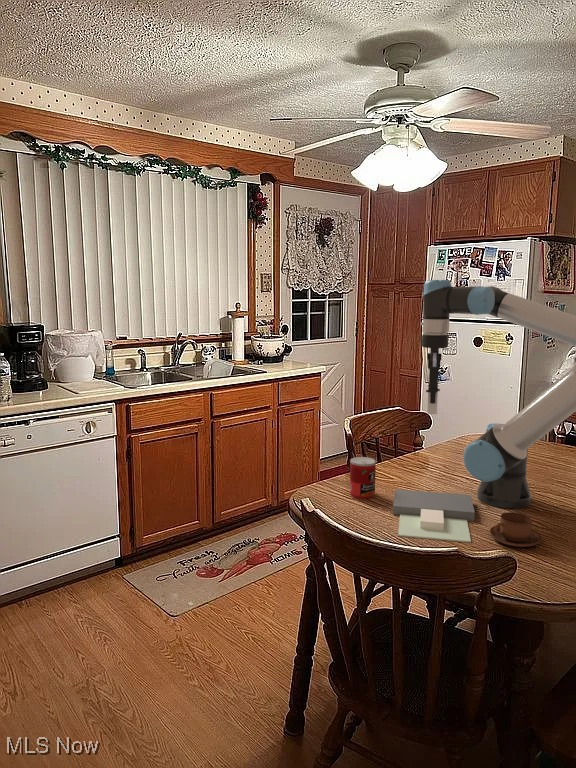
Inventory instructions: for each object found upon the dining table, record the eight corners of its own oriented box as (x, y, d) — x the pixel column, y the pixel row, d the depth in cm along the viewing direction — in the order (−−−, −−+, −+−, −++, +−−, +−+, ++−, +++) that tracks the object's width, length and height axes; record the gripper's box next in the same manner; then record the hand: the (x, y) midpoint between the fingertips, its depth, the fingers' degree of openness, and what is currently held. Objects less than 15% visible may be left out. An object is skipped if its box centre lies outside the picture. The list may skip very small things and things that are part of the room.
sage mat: (466, 521, 158) (466, 519, 158) (470, 542, 145) (470, 541, 145) (399, 515, 162) (400, 514, 162) (397, 536, 149) (397, 534, 149)
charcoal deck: (470, 502, 172) (470, 494, 171) (474, 521, 158) (474, 512, 158) (395, 497, 177) (395, 489, 176) (392, 514, 163) (393, 505, 163)
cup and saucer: (522, 556, 138) (524, 531, 137) (479, 538, 148) (481, 515, 147) (550, 543, 145) (551, 519, 144) (507, 527, 155) (508, 505, 154)
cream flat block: (420, 515, 161) (420, 508, 161) (442, 517, 160) (443, 510, 160) (420, 528, 153) (420, 521, 152) (443, 530, 151) (443, 523, 151)
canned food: (363, 501, 174) (363, 465, 172) (344, 494, 180) (344, 459, 178) (380, 495, 178) (381, 461, 177) (361, 488, 184) (362, 455, 183)
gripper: (421, 332, 175) (419, 408, 178) (421, 335, 162) (418, 417, 166) (447, 332, 173) (444, 409, 177) (449, 335, 160) (446, 418, 164)
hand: (432, 413), depth 171 cm, fingers closed
